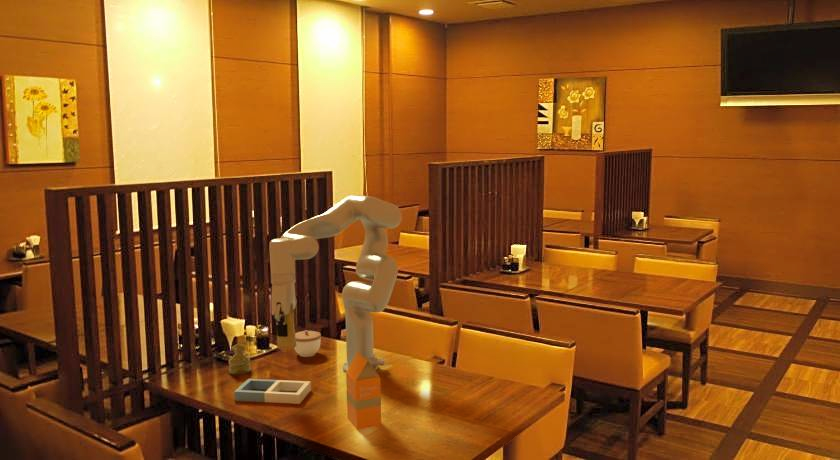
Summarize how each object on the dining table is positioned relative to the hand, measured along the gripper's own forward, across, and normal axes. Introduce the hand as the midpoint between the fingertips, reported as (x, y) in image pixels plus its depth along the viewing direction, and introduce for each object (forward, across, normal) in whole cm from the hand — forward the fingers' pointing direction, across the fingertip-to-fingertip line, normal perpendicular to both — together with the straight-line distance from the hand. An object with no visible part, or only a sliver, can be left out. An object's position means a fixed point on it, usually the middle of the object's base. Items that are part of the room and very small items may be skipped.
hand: (286, 332), depth 224 cm
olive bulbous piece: (+21, -20, -25) cm, 38 cm away
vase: (+5, 0, 0) cm, 5 cm away
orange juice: (+21, +16, +29) cm, 39 cm away
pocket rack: (+21, 0, -5) cm, 22 cm away
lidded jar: (+22, -41, -7) cm, 47 cm away
